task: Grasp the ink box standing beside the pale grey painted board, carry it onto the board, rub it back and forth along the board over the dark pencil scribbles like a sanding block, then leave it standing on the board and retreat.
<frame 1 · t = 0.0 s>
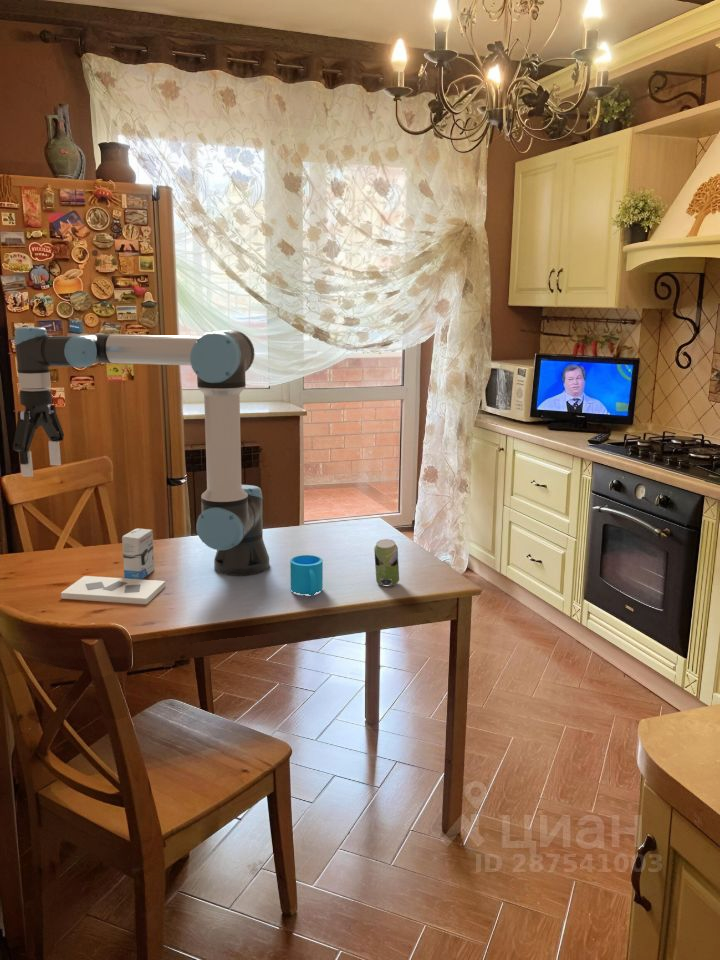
hand: (42, 470, 198), 28 cm above the table, fingers open, 13 cm apart
board: (114, 592, 191), on the table
mug: (308, 593, 193), on the table
ink box: (139, 575, 203), on the table
beverage can: (386, 585, 199), on the table
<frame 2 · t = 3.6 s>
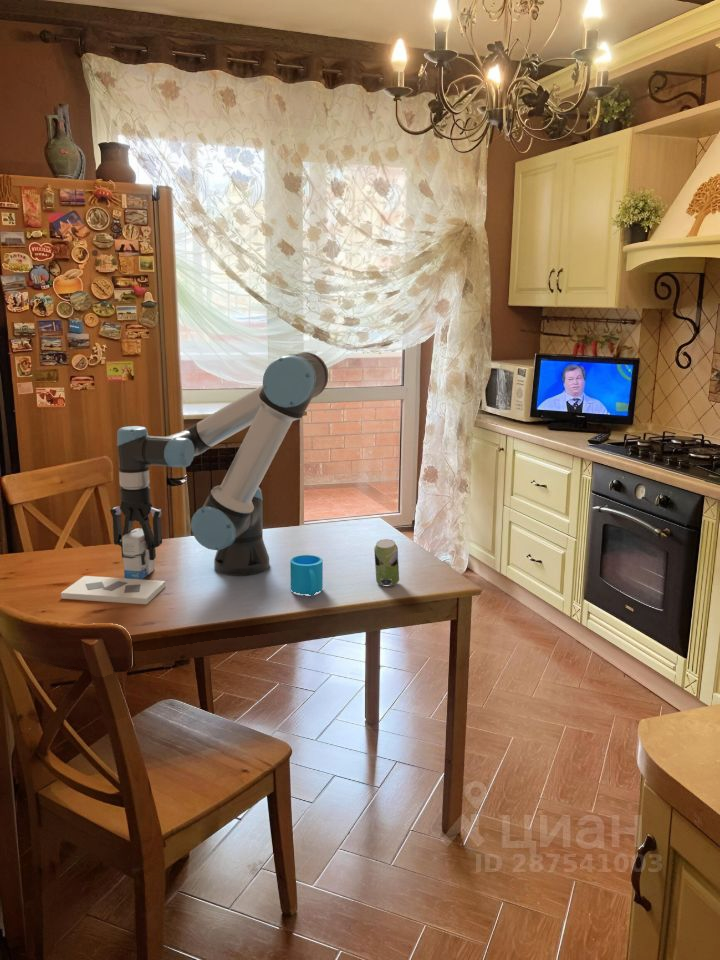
hand: (139, 570, 203), 1 cm above the table, fingers closed on ink box, 5 cm apart
ink box: (139, 575, 203), on the table, touching gripper
everything else where it was.
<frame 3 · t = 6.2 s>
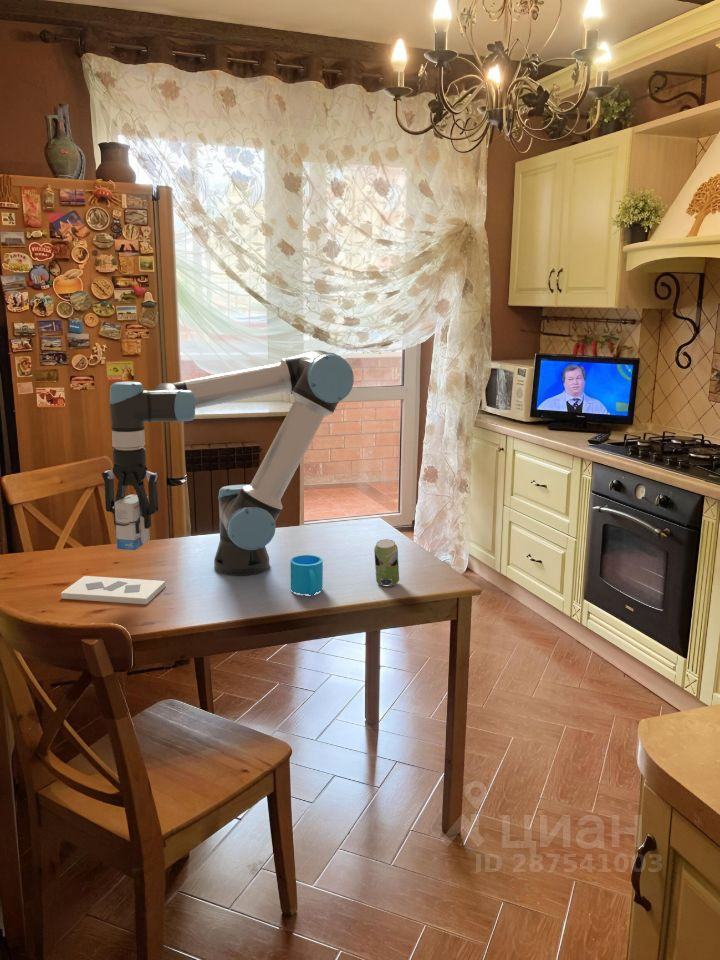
hand: (133, 539, 187), 14 cm above the table, fingers closed on ink box, 5 cm apart
ink box: (133, 545, 187), point 13 cm above the table, touching gripper
everything else where it was.
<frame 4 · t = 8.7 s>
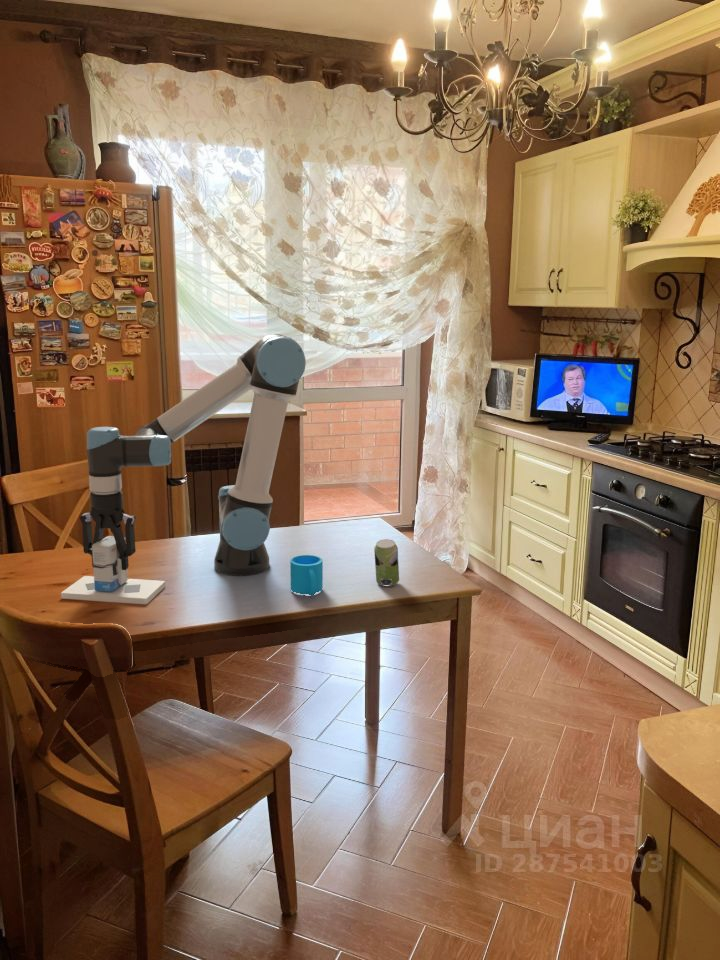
hand: (111, 580, 190), 3 cm above the table, fingers closed on ink box, 5 cm apart
ink box: (111, 586, 190), point 2 cm above the table, touching gripper
everything else where it was.
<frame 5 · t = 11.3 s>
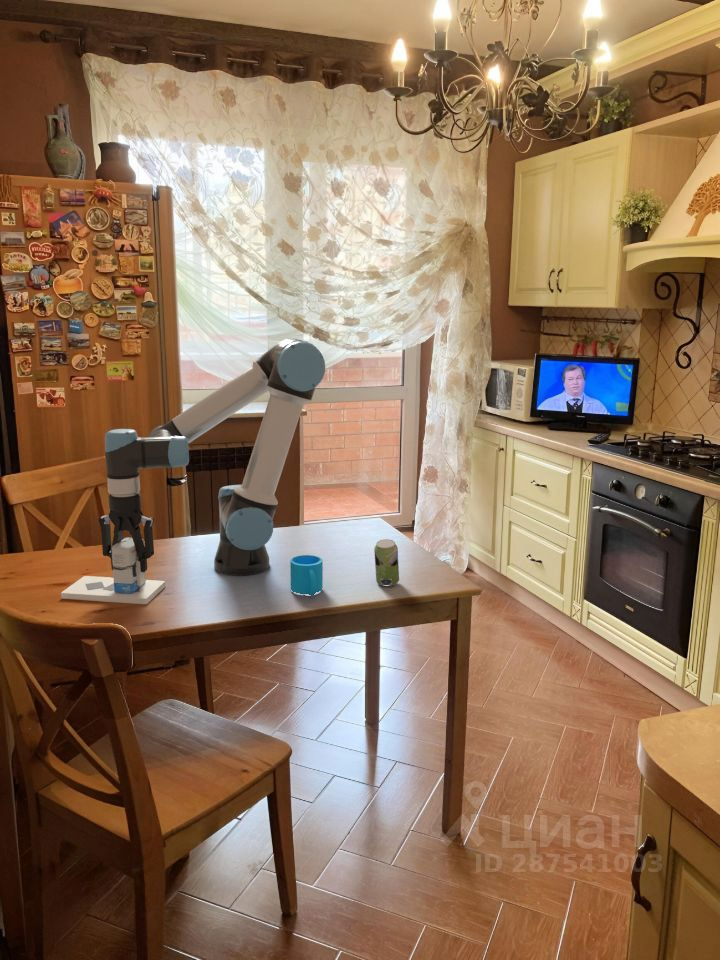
hand: (130, 583, 190), 3 cm above the table, fingers closed on ink box, 5 cm apart
ink box: (130, 588, 190), point 1 cm above the table, touching gripper
everything else where it was.
when the fingers open (3 cm above the table, at t = 13.8 s): ink box stays where it is, resting on board.
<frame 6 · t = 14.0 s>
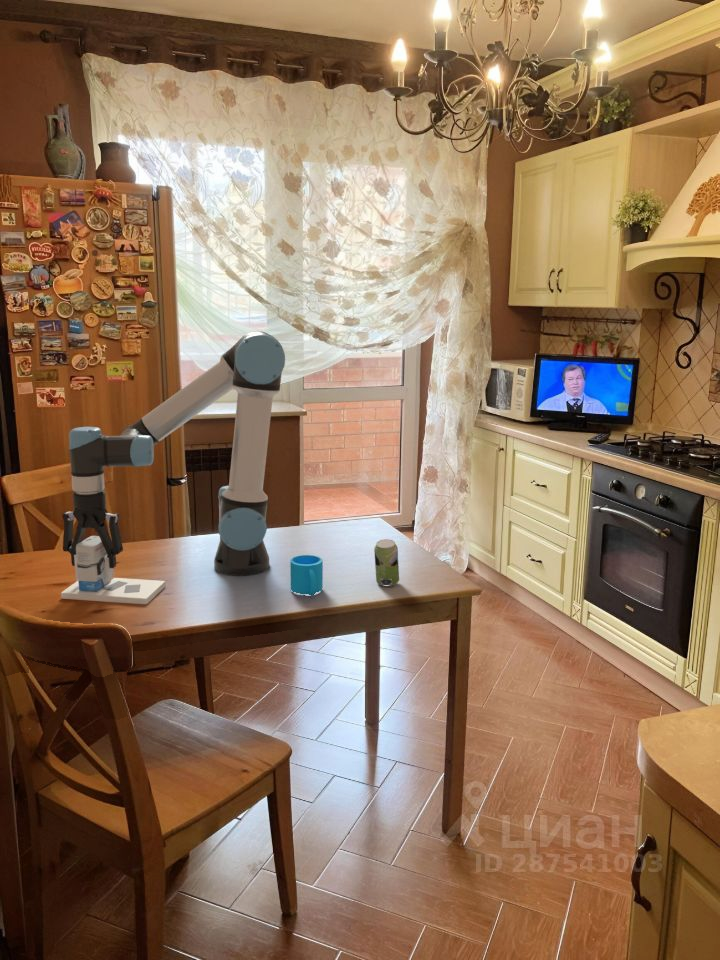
hand: (95, 578, 191), 3 cm above the table, fingers open, 7 cm apart
ink box: (95, 586, 191), point 1 cm above the table, touching board
everything else where it was.
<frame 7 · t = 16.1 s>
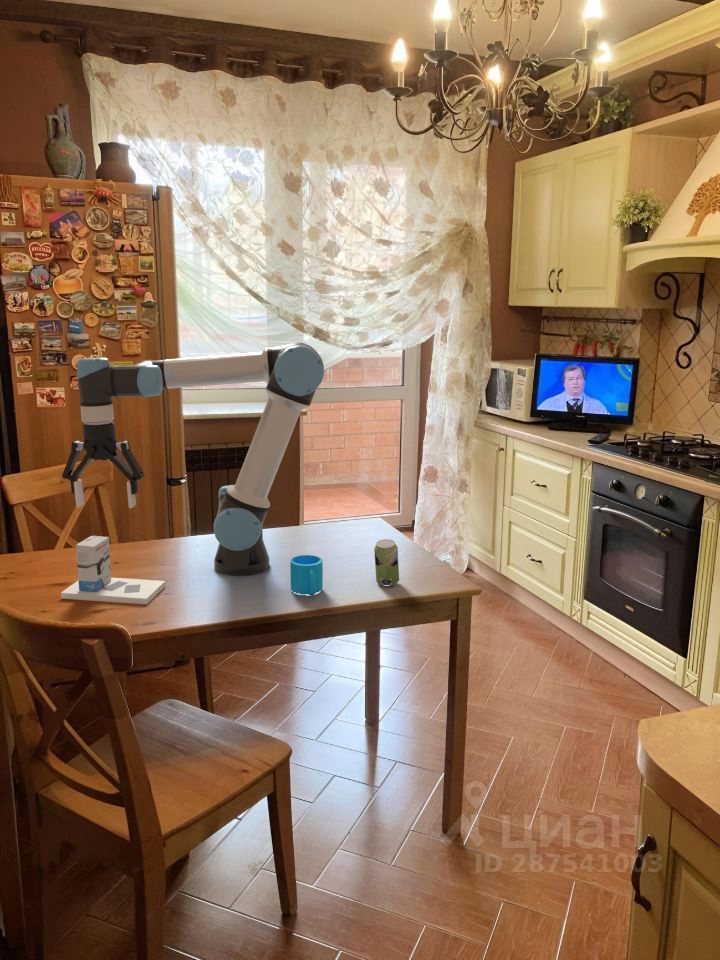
hand: (106, 506, 189), 21 cm above the table, fingers open, 13 cm apart
nothing on the table moved.
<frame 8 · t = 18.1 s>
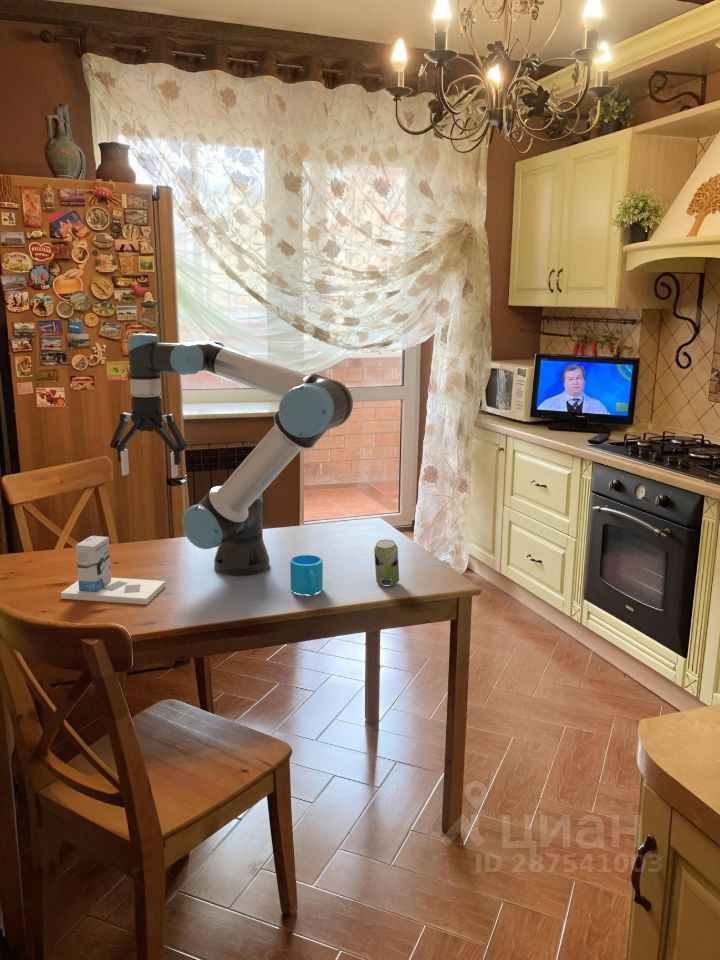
hand: (150, 475, 200), 27 cm above the table, fingers open, 13 cm apart
nothing on the table moved.
at the end: ink box inside the target area on the board (4.9 cm from its centre), point 1.4 cm above the board's base; ink box tilted 0°; the gripper is holding nothing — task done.
